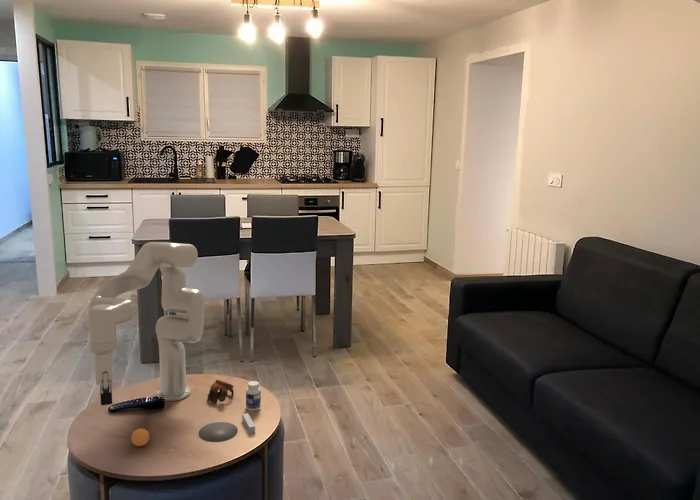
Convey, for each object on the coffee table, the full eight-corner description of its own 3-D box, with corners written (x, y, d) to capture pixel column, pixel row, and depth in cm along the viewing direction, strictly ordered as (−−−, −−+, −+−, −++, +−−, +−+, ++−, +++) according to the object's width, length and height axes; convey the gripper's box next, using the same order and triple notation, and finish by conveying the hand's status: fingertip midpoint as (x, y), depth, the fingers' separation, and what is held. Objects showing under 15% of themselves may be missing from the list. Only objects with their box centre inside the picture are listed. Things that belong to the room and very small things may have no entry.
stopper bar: (242, 420, 204) (242, 414, 204) (248, 419, 205) (248, 413, 205) (249, 434, 196) (249, 427, 195) (255, 433, 196) (255, 426, 196)
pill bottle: (243, 407, 214) (243, 382, 213) (255, 402, 218) (255, 379, 216) (251, 412, 211) (251, 387, 209) (263, 408, 214) (263, 383, 212)
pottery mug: (202, 397, 222) (210, 377, 224) (225, 404, 226) (232, 384, 228) (211, 403, 211) (219, 381, 213) (234, 410, 215) (242, 388, 217)
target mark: (196, 425, 200) (196, 425, 200) (234, 420, 204) (234, 419, 204) (201, 444, 188) (201, 443, 188) (241, 438, 193) (240, 437, 193)
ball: (131, 442, 188) (130, 426, 187) (149, 439, 190) (148, 424, 189) (131, 450, 183) (131, 435, 182) (150, 448, 185) (149, 432, 184)
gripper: (90, 337, 182) (93, 390, 185) (90, 356, 166) (93, 414, 170) (115, 334, 185) (118, 387, 188) (118, 353, 169) (120, 410, 173)
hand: (106, 399), depth 179 cm, fingers open, 5 cm apart
